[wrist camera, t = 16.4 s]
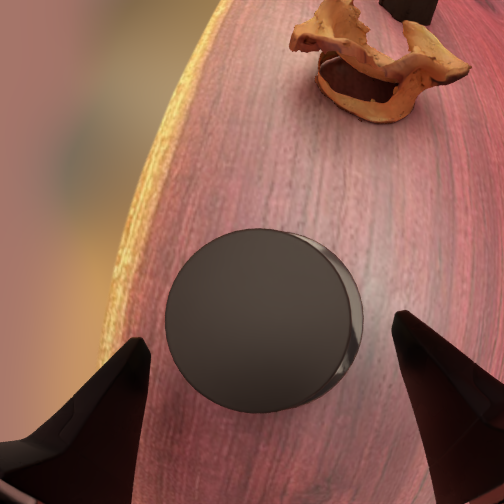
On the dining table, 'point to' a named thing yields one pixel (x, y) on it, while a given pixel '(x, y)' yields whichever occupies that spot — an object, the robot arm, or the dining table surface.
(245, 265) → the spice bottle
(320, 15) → the bone
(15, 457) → the robot arm
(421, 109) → the dining table surface
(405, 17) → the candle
